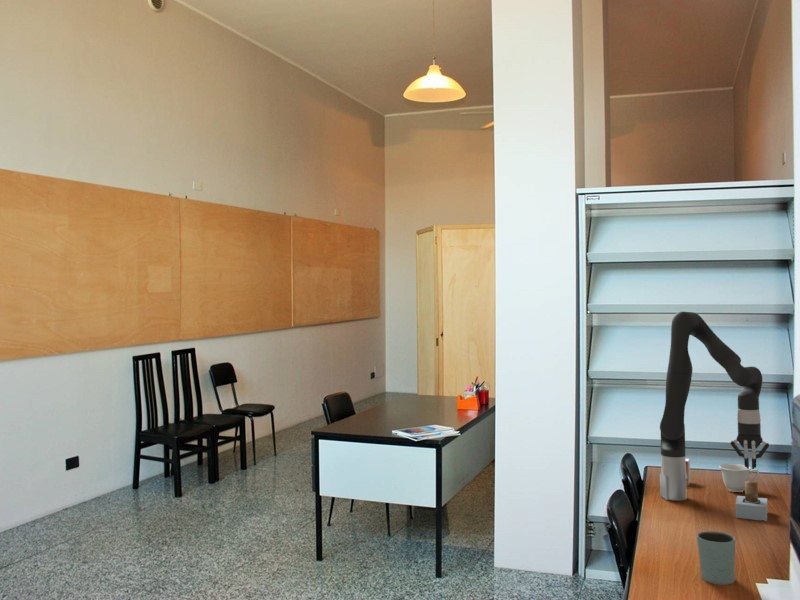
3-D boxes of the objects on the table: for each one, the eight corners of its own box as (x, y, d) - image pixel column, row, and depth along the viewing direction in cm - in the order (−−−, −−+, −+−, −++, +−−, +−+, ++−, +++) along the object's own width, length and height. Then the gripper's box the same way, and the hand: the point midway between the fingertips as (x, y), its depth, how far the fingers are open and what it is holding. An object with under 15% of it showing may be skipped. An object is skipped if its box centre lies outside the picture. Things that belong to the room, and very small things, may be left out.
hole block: (766, 521, 247) (766, 506, 247) (735, 517, 252) (735, 503, 252) (767, 511, 258) (767, 498, 258) (737, 508, 262) (737, 495, 262)
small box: (669, 484, 301) (668, 459, 301) (670, 480, 306) (670, 457, 306) (689, 485, 297) (688, 461, 297) (690, 482, 302) (689, 458, 302)
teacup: (758, 497, 277) (758, 472, 277) (718, 492, 285) (717, 468, 285) (761, 490, 287) (760, 465, 287) (721, 486, 295) (721, 462, 295)
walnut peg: (749, 516, 253) (748, 483, 253) (743, 513, 257) (742, 480, 257) (761, 516, 253) (760, 483, 253) (754, 512, 257) (753, 480, 257)
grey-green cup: (724, 588, 190) (723, 544, 190) (690, 577, 198) (689, 535, 199) (743, 579, 196) (742, 536, 196) (710, 569, 204) (708, 528, 205)
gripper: (769, 420, 255) (771, 467, 255) (729, 418, 262) (730, 464, 261) (769, 423, 249) (771, 472, 248) (728, 421, 255) (729, 469, 255)
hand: (750, 468), depth 255 cm, fingers closed
